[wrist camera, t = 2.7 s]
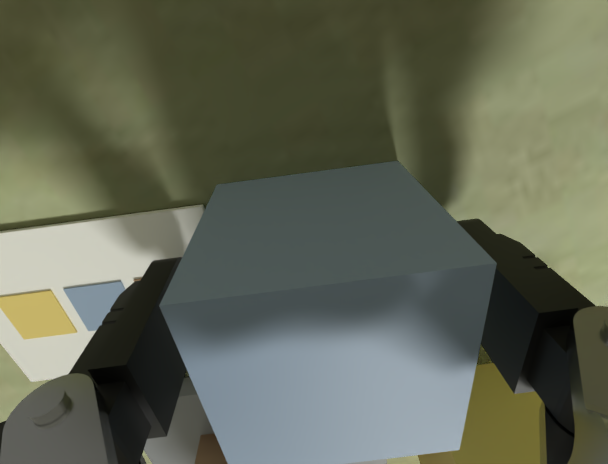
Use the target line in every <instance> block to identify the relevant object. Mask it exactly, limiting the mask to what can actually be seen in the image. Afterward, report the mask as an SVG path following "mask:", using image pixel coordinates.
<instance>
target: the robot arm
mask: <svg viewBox="0 0 608 464" xmlns="http://www.w3.org/2000/svg"><path fill="white" fill-rule="evenodd" d="M456 222H457V223H458V224H459V225H460V226H461V227H462V228H463V229H464V230H465V231H466V232H467V233H468V234H469V235H470V236H471V237H472V238H473V239H474V240H475V241H476V242H477V243H478V244H479V245H480V246H481V247H482V248H483V249H484V250H485V251H486V253H487V254H488V255H489V256H490V257H491V258H492V259H493V260H494V261H495V262H496V263H497V265H496V270H495V275H494V280H493V285H492V290H491V295H490V300H489V305H488V310H487V315H486V320H485V325H484V330H483V335H482V340H481V344H482V346H483V348H484V349H485V351H486V352H487V354H488V355H489V357H490V358H491V360H492V361H493V363H494V364H495V366H496V367H497V369H498V370H499V372H500V373H501V375H502V376H503V378H504V379H505V381H506V382H507V384H508V385H509V387H510V388H511V390H512V391H513V393H514V394H518V393H526V392H534V391H536V393H537V394H538V396H539V397H540V398H541V400H542V403H541V406H540V409H539V433H540V464H608V307H604V306H595V305H594V304H593V303H592V302H590V301H589V300H588V299H587V298H586V297H584V296H583V295H582V294H581V293H580V292H578V291H577V290H576V289H575V288H574V287H573V286H571V285H570V284H569V283H568V282H567V281H565V280H564V279H563V278H562V277H561V276H559V275H558V274H557V273H556V272H555V271H553V270H552V269H551V268H548V267H547V265H546V264H545V263H544V262H543V261H542V260H540V259H539V258H538V257H537V258H536V257H535V255H534V254H533V253H532V252H531V251H530V250H528V249H527V248H526V247H525V246H524V245H523V244H521V243H520V242H518V241H515V240H513V239H511V238H509V237H507V236H504V235H502V234H496V233H495V232H493V231H492V230H491V229H490V228H489V227H488V226H487V225H486V224H484V223H483V222H482V221H481V220H480V219H470V220H462V221H456ZM181 259H182V257H176V258H169V259H161V260H154V261H152V262H151V264H150V265H149V267H148V269H147V270H146V272H145V274H144V275H143V277H142V279H141V280H139V281H135V282H134V283H132V284H131V285H130V286H129V287H128V288H127V289H126V290H124V291H123V292H122V293H121V294H120V295H119V296H118V298H117V299H116V301H115V303H114V304H113V306H112V307H111V309H110V312H109V313H107V315H106V316H105V318H104V320H103V321H102V325H100V326H99V327H98V329H97V330H96V332H95V334H94V335H93V337H92V338H91V340H90V341H89V343H88V344H87V346H86V347H85V349H84V351H83V352H82V354H81V355H80V357H79V358H78V360H77V361H76V363H75V365H74V366H73V368H72V369H71V371H70V372H69V374H67V375H63V376H60V377H57V378H55V379H53V380H51V381H49V382H47V383H45V384H43V385H41V386H40V387H38V388H37V389H35V390H34V391H33V392H31V393H30V394H29V395H28V396H27V397H25V398H24V399H23V400H22V401H21V402H20V403H19V404H18V405H17V406H16V408H15V409H14V410H13V411H12V413H11V414H10V416H9V417H8V419H7V421H4V422H2V423H0V464H146V462H145V459H144V458H143V456H142V453H143V450H144V447H145V444H146V441H147V439H151V438H159V437H167V434H168V431H169V428H170V424H171V421H172V417H173V414H174V410H175V407H176V404H177V400H178V397H179V393H180V390H181V387H182V383H183V380H184V376H185V373H186V367H185V364H184V362H183V360H182V357H181V355H180V353H179V350H178V348H177V346H176V344H175V341H174V339H173V337H172V334H171V332H170V330H169V327H168V325H167V323H166V321H165V318H164V316H163V314H162V311H161V309H160V307H159V305H160V303H161V301H162V299H163V297H164V295H165V293H166V290H167V288H168V286H169V284H170V282H171V280H172V278H173V276H174V274H175V272H176V269H177V267H178V265H179V263H180V261H181Z"/></svg>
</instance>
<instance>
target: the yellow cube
mask: <svg viewBox="0 0 608 464" xmlns="http://www.w3.org/2000/svg"><path fill="white" fill-rule="evenodd" d="M541 403H542V400H541V398H540V397H539V396H538V394H537V393H536V391H534V392H526V393H518V394H514V393H513V391H512V390H511V388H510V387H509V385H508V384H507V382H506V381H505V379H504V378H503V376H502V375H501V373H500V372H499V370H498V369H497V367H496V366H495V364H494V363H490V364H482V365H476V370H475V375H474V380H473V385H472V390H471V395H470V400H469V405H468V410H467V415H466V420H465V425H464V430H463V435H462V440H461V445H460V450H455V451H447V452H439V453H430V454H422V455H418V458H419V461H420V464H540V433H539V409H540V406H541Z"/></svg>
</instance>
